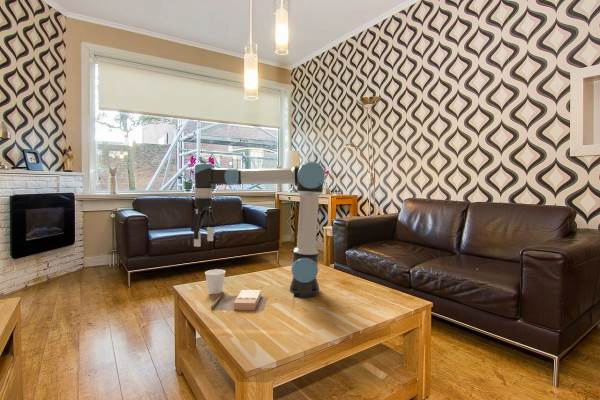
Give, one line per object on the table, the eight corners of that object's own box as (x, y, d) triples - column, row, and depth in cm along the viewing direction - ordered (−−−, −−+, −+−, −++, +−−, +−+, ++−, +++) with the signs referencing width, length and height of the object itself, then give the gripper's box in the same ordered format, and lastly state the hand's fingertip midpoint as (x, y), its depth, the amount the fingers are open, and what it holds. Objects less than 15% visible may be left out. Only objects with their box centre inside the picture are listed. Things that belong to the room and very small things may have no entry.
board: (268, 299, 151) (268, 293, 151) (262, 313, 134) (262, 307, 134) (222, 298, 152) (222, 292, 152) (211, 312, 135) (211, 306, 135)
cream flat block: (260, 296, 151) (260, 290, 151) (257, 305, 140) (257, 298, 140) (242, 296, 152) (242, 289, 151) (236, 304, 141) (236, 297, 140)
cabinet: (256, 305, 140) (256, 298, 140) (254, 310, 135) (254, 302, 135) (236, 305, 140) (236, 298, 140) (233, 309, 135) (233, 302, 135)
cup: (220, 298, 152) (220, 275, 151) (201, 296, 154) (201, 274, 153) (228, 291, 161) (228, 269, 161) (210, 289, 163) (210, 268, 163)
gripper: (207, 196, 159) (208, 238, 160) (182, 198, 134) (182, 248, 135) (221, 196, 158) (222, 239, 159) (198, 198, 133) (199, 249, 134)
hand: (204, 243), depth 147 cm, fingers open, 13 cm apart
